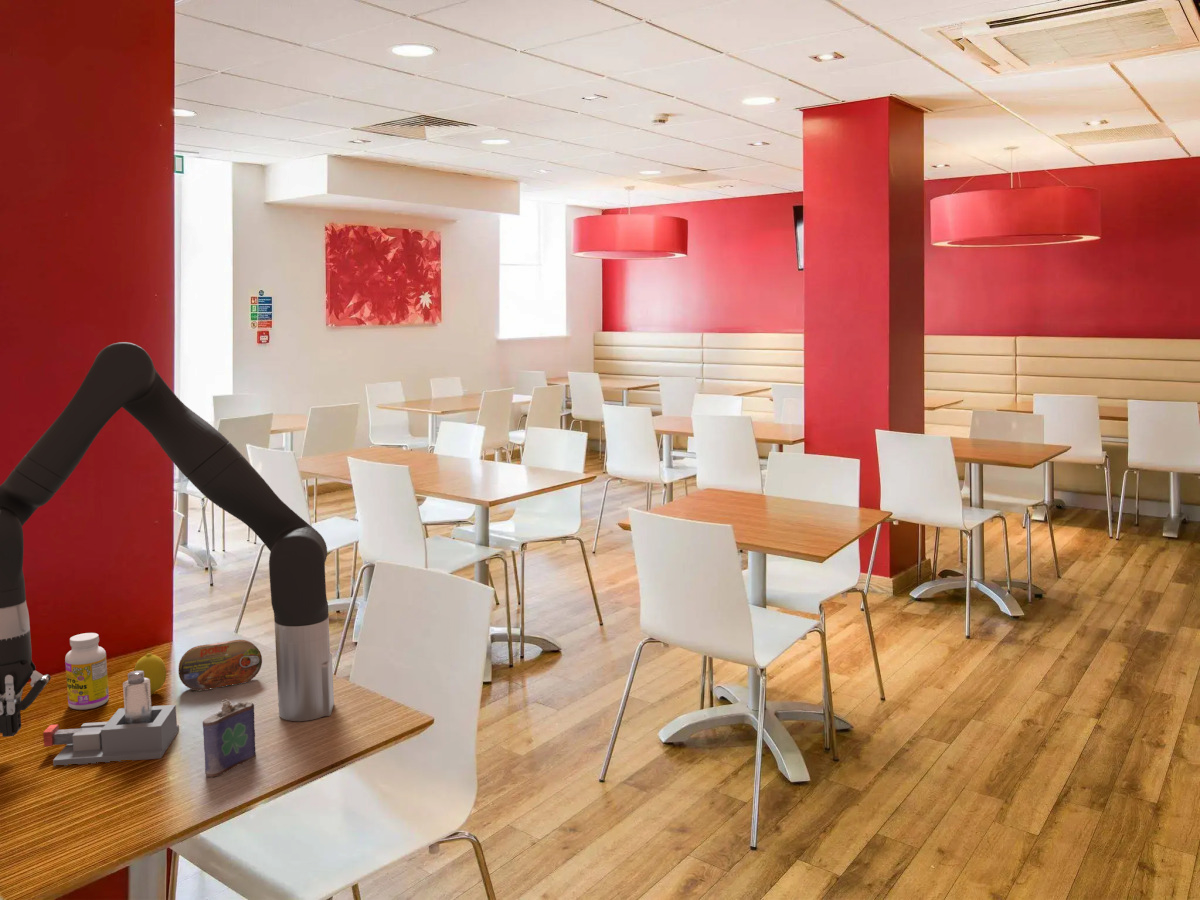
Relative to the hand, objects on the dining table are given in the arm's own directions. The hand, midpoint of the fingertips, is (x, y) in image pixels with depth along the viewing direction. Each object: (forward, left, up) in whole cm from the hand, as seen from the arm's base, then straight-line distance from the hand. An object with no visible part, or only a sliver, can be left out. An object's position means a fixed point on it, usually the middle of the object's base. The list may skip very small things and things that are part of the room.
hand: (10, 734), depth 156 cm
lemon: (-15, -24, -4) cm, 28 cm away
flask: (-36, +10, -4) cm, 38 cm away
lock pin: (-10, 0, -2) cm, 10 cm away
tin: (-27, -27, -4) cm, 38 cm away
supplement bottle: (-5, -21, -4) cm, 22 cm away
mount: (-16, 0, -3) cm, 17 cm away
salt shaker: (-20, 0, -2) cm, 20 cm away
